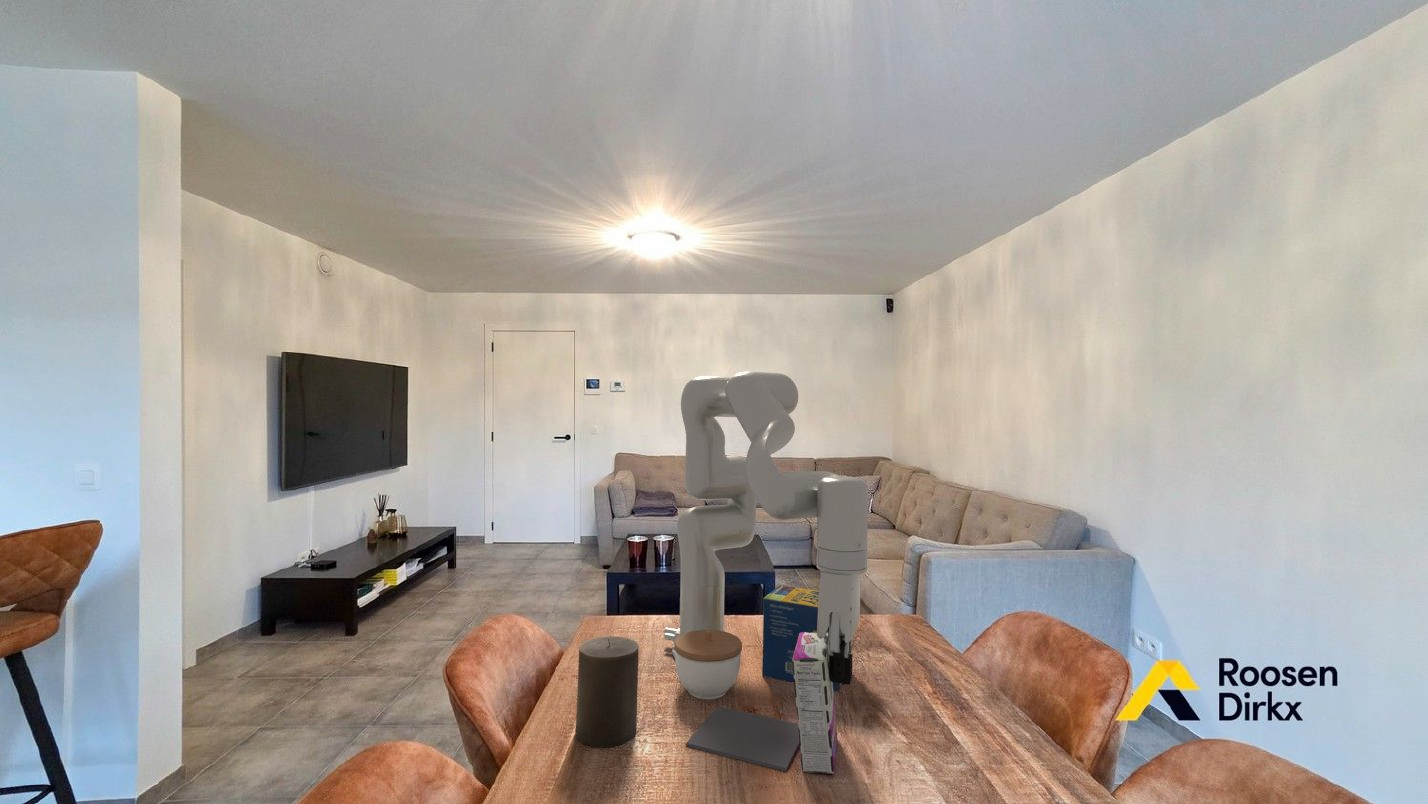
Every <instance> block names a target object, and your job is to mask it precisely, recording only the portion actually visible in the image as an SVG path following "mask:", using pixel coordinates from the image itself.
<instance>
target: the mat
mask: <svg viewBox="0 0 1428 804" xmlns="http://www.w3.org/2000/svg"><path fill="white" fill-rule="evenodd" d="M685 743H686V745H685V747H689V748H692V749H695V750H700V751H704V752H708V753H712V754H717V755H719V756H720V755H721V756H724V757H727V758H732V759H736V760H738V761H744V762H747V763H751V764H755V765H758V766H763V767H767V768H770V769H774V770H778V771H782V772H785V773H786V772H787V771H788V768H789V766H790V765H791V763H792V761H793V759H794V757H795V755H796V753H797V751H798V750H799V748H800V741H799V729H798V722H793V721H788V720H784V719H781V718H776V717H775V718H774V717H770V716H766V715H762V714H757V713H753V712H748V711H744V710H739V709H734V708H730V707H726V706H721V705H717V706H716V708H715V709H714V710H713V711H712V713H710V715H709V716H708V717H707V718H706V720H705V721H704V722H703V723H702V724H701V725H700V727H699V728H698V729H697V730H696V731H695V732H694V733H693V734H692V735H691V737H690V738H688V740H687V741H686V742H685Z"/></svg>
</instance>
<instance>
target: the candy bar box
mask: <svg viewBox="0 0 1428 804" xmlns="http://www.w3.org/2000/svg"><path fill="white" fill-rule="evenodd" d="M829 654H830V651H829V638H828V633H827V634H826V635H825V637H824V638H822V639H819V638H818V636H817V632H810V633H808V632H802V633H799V637H798V641H797V645H796V648H795V652H794V655H793V658H792V664H793V673H794V683H793V685H794V695H795V707H796V714H797V715H796V716H797V723H798V729H799V741H800V745H799V750H800V762H801V771H802V773H803V772H804V773H809V774H828V775H829V774H831V775H834V774H835V766H836V755H837V754H836V753H837V742H838V728H837V715H836V708H835V707H836V704H835V692H834V691H833V682H831V681H830V679H829Z"/></svg>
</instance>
